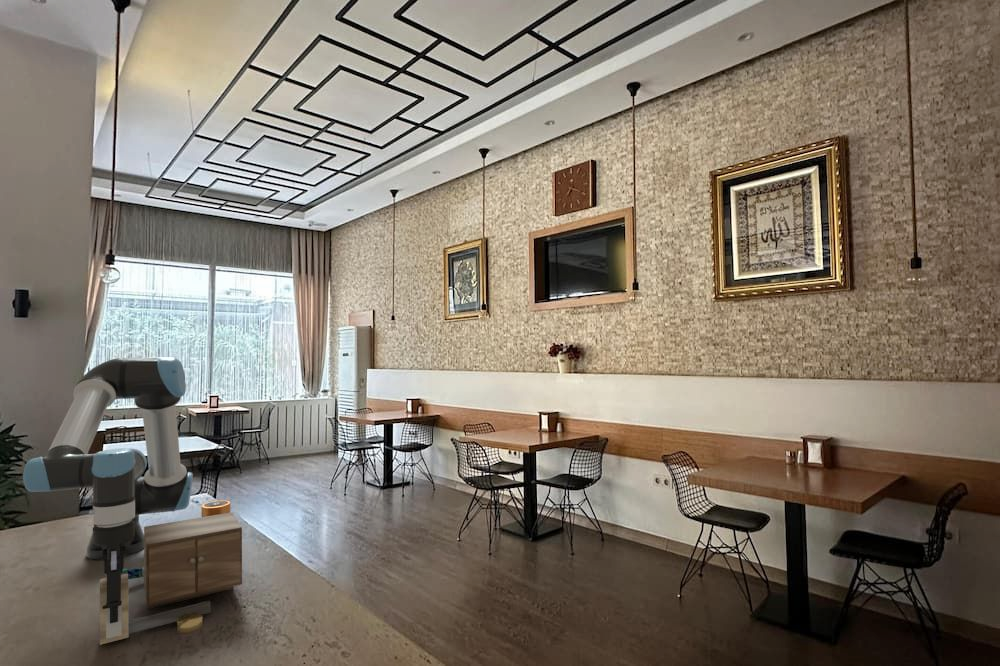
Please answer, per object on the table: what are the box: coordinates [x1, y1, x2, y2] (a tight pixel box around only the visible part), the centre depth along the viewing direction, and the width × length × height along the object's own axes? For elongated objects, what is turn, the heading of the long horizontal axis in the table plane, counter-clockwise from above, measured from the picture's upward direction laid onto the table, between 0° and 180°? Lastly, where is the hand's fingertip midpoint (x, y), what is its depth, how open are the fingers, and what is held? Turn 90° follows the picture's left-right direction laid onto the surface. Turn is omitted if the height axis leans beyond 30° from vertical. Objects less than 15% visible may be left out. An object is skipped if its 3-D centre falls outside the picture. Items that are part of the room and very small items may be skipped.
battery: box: [201, 500, 231, 517], centre depth 154 cm, size 7×7×20 cm
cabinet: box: [143, 511, 243, 609], centre depth 138 cm, size 16×20×18 cm
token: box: [176, 613, 204, 635], centre depth 126 cm, size 5×5×2 cm
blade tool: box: [99, 573, 212, 646], centre depth 125 cm, size 5×21×12 cm, turn 125°
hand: (114, 630), depth 120 cm, fingers closed on blade tool, 5 cm apart
